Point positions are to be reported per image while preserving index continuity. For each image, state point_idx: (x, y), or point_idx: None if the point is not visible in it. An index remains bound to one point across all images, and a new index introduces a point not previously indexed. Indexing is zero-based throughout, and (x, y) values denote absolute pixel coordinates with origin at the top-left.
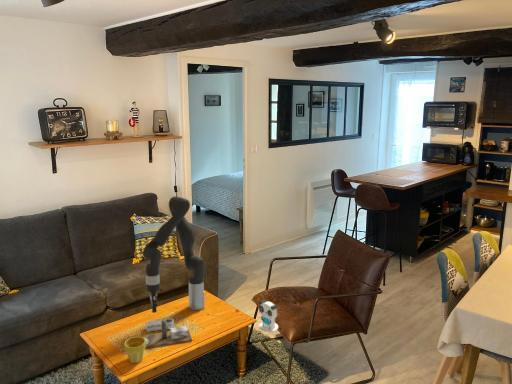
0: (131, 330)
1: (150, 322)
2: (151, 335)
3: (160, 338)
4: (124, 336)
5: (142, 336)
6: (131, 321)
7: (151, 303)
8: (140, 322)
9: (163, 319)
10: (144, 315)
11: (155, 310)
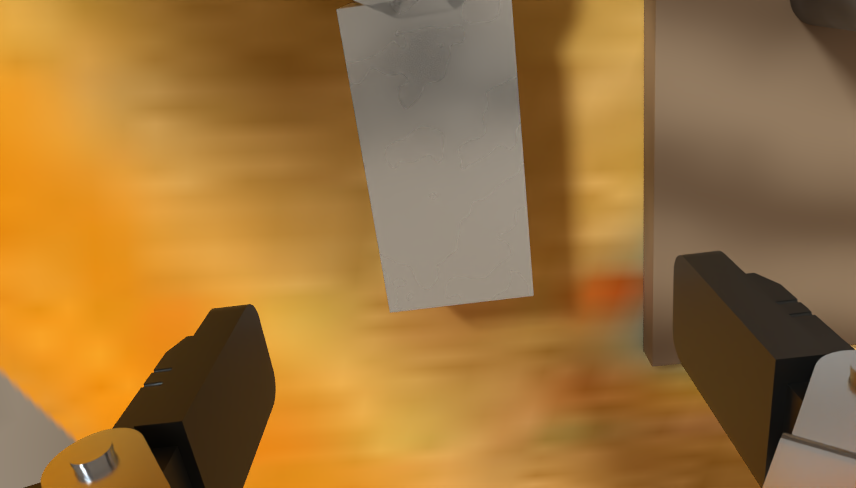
0: (418, 421)
1: (417, 242)
2: (675, 192)
3: (816, 54)
4: (543, 477)
5: (664, 307)
6: None
7: (256, 428)
8: None
9: (338, 11)
10: (17, 300)
11: (790, 305)
